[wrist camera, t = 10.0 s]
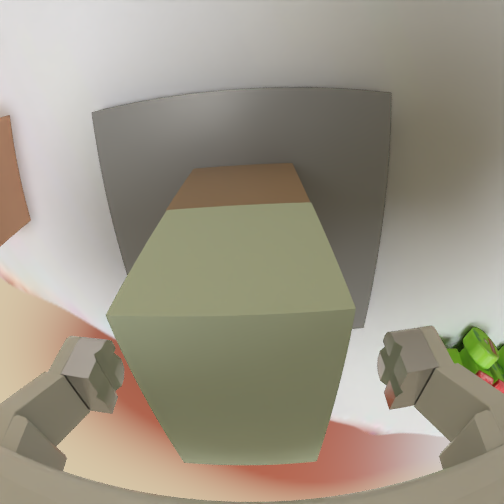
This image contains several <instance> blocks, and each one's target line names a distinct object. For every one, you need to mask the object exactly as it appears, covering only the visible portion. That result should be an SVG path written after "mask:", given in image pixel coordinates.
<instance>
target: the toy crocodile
mask: <svg viewBox="0 0 504 504" xmlns="http://www.w3.org/2000/svg"><path fill="white" fill-rule="evenodd" d="M463 344H464V348H463V349H462V350H461V351H460V352H458V350H457V349H447V351H448V353H449V355H450V357H451V359H452V360H453V362H454V364H456V363H459V364H460V365H462V366H463V367H465V368H466V369H468V370H469V371H471V372H472V373H474V374H475V375H477V376H478V377H480V378H481V379H483V380H484V381H486V382H487V383H489V384H490V385H492V386H493V387H495V388H496V389H498V390H499V391H500V392H502V393H503V394H504V345H503V346H502V347H501V348H500V350H499V351H498V350H497V348H496V346H495V344H494V343H493V342H492V340H491V339H490V338H489V337H488V336H487V335H486V334H485V333H484V332H483V331H482V330H480V329H479V328H476V327H473V328H472V329H471V330H470V331H469V332H468V333H467V334H466V336H465V337H464V338H463Z"/></svg>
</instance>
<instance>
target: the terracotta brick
mask: <svg viewBox="0 0 504 504" xmlns="http://www.w3.org/2000/svg"><path fill="white" fill-rule="evenodd" d="M29 221H31V219H30V215H29V212H28V208H27V204H26V200H25V196H24V192H23V188H22V184H21V179H20V175H19V170H18V165H17V160H16V155H15V149H14V143H13V137H12V130H11V122H10V115H8V116H4V117H1V118H0V246H1V245H3V244H4V243H5V242H6V241H7V240H8V239H9V238H10V237H12V236H13V235H14V234H15V233H16V232H17V231H19V230H20V229H21V228H22V227H23V226H25V225H26V224H27V223H28V222H29Z"/></svg>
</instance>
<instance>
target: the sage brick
mask: <svg viewBox="0 0 504 504" xmlns="http://www.w3.org/2000/svg"><path fill="white" fill-rule="evenodd" d="M355 311H356V308H355V305H354V302H353V300H352V297H351V295H350V292H349V290H348V287H347V285H346V282H345V280H344V277H343V275H342V272H341V270H340V267H339V265H338V262H337V260H336V258H335V255H334V253H333V251H332V248H331V246H330V243H329V241H328V239H327V237H326V234H325V232H324V230H323V227H322V225H321V223H320V221H319V218H318V216H317V214H316V212H315V209H314V207H313V205H312V203H311V202H304V203H276V204H253V205H234V206H217V207H201V208H187V209H173V210H167V211H166V212H165V214H164V215H163V217H162V219H161V220H160V222H159V223H158V225H157V227H156V228H155V230H154V231H153V233H152V235H151V236H150V238H149V240H148V241H147V243H146V245H145V246H144V248H143V250H142V251H141V253H140V255H139V256H138V258H137V260H136V261H135V263H134V265H133V267H132V268H131V270H130V272H129V274H128V275H127V277H126V279H125V281H124V283H123V284H122V286H121V288H120V290H119V292H118V293H117V295H116V297H115V299H114V301H113V303H112V305H111V306H110V308H109V310H108V312H107V314H106V317H107V319H108V322H109V324H110V326H111V329H112V331H113V333H114V336H115V338H116V340H117V342H118V344H119V346H120V349H121V351H122V353H123V355H124V357H125V359H126V361H127V363H128V365H129V367H130V370H131V372H132V373H133V376H134V378H135V379H136V381H137V383H138V385H139V387H140V389H141V391H142V393H143V395H144V397H145V398H146V400H147V402H148V404H149V406H150V407H151V409H152V411H153V413H154V414H155V416H156V418H157V420H158V421H159V423H160V425H161V426H162V428H163V430H164V431H165V433H166V435H167V436H168V438H169V439H170V441H171V443H172V444H173V446H174V447H175V449H176V450H177V452H178V454H179V455H180V457H181V458H182V460H183V461H184V463H198V464H214V465H215V464H216V465H273V464H290V463H302V462H314V461H317V458H318V455H319V452H320V449H321V446H322V443H323V440H324V437H325V433H326V430H327V426H328V423H329V420H330V417H331V413H332V409H333V406H334V402H335V399H336V395H337V391H338V387H339V383H340V379H341V375H342V371H343V367H344V363H345V358H346V354H347V350H348V345H349V340H350V336H351V331H352V326H353V321H354V316H355Z"/></svg>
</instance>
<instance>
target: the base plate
mask: <svg viewBox="0 0 504 504" xmlns="http://www.w3.org/2000/svg"><path fill="white" fill-rule="evenodd" d="M92 119H93V126H94V132H95V138H96V145H97V150H98V156H99V162H100V167H101V172H102V177H103V182H104V187H105V191H106V196H107V200H108V205H109V209H110V213H111V217H112V221H113V225H114V229H115V233H116V237H117V241H118V244H119V248H120V252H121V255H122V259H123V262H124V266H125V269H126V272H127V275H128V274H129V272H130V270H131V268H132V267H133V265H134V263H135V261H136V260H137V258H138V256H139V255H140V253H141V251H142V250H143V248H144V246H145V245H146V243H147V241H148V240H149V238H150V236H151V235H152V233H153V231H154V230H155V228H156V227H157V225H158V223H159V222H160V220H161V219H162V217H163V215H164V214H165V212H166V211H167V210H173V209H187V208H201V207H217V206H234V205H253V204H276V203H304V202H311V203H312V205H313V207H314V209H315V212H316V214H317V216H318V218H319V221H320V223H321V225H322V227H323V230H324V232H325V234H326V237H327V239H328V241H329V243H330V246H331V248H332V251H333V253H334V255H335V258H336V260H337V262H338V265H339V267H340V270H341V272H342V275H343V277H344V280H345V282H346V285H347V287H348V290H349V292H350V295H351V297H352V300H353V302H354V305H355V308H356V311H355V316H354V321H353V326H352V329H356V328H364V323H365V319H366V314H367V310H368V305H369V300H370V295H371V290H372V285H373V280H374V274H375V269H376V263H377V257H378V251H379V244H380V237H381V230H382V223H383V215H384V207H385V198H386V188H387V178H388V166H389V151H390V133H391V93H390V92H380V91H370V90H358V89H343V88H318V87H275V88H250V89H234V90H222V91H211V92H201V93H193V94H185V95H178V96H171V97H164V98H158V99H152V100H146V101H141V102H136V103H131V104H126V105H121V106H116V107H112V108H107V109H103V110H99V111H95V112H92Z"/></svg>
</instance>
